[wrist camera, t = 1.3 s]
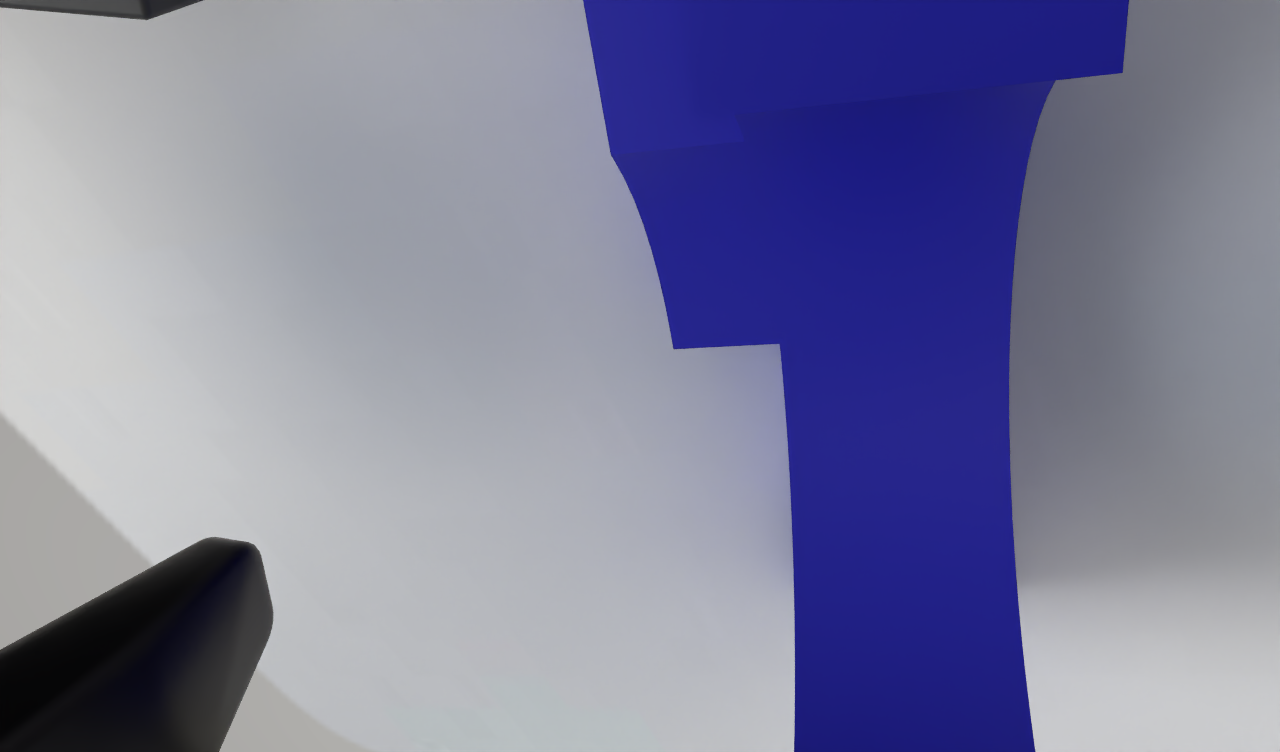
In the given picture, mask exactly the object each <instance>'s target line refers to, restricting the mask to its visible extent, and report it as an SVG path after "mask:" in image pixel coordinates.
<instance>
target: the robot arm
mask: <svg viewBox="0 0 1280 752" xmlns="http://www.w3.org/2000/svg"><path fill="white" fill-rule="evenodd" d="M272 624H273V607H272V602H271V598H270V593H269V589H268V584H267V580H266V575H265V571H264V566H263V562H262V558H261V554H260V551H259V550H258V549H257V548H256V546H255V545H254V544H251V543H249V542H244V541H238V540H231V539H225V538H219V537H209V538H206V539H203V540H201V541H199V542H197V543H195V544H193V545H191V546H189V547H188V548H186V549H184V550H182V551H180V552H178V553H177V554H175V555H173V556H171V557H169V558H167V559H166V560H164V561H162V562H160V563H158V564H156V565H155V566H153V567H151V568H149V569H147V570H145V571H144V572H142V573H140V574H138V575H136V576H134V577H133V578H131V579H129V580H127V581H125V582H123V583H122V584H120V585H118V586H116V587H114V588H112V589H111V590H109V591H107V592H105V593H103V594H101V595H100V596H98V597H96V598H94V599H92V600H91V601H89V602H87V603H85V604H83V605H81V606H80V607H78V608H76V609H74V610H72V611H71V612H69V613H67V614H65V615H63V616H61V617H60V618H58V619H56V620H54V621H52V622H50V623H48V624H47V625H45V626H43V627H41V628H39V629H37V630H36V631H34V632H32V633H30V634H28V635H26V636H25V637H23V638H21V639H19V640H17V641H16V642H14V643H12V644H10V645H8V646H6V647H5V648H3V649H1V650H0V752H219V751H220V748H221V746H222V744H223V741H224V739H225V737H226V734H227V732H228V730H229V728H230V726H231V723H232V721H233V719H234V716H235V714H236V712H237V709H238V707H239V705H240V703H241V701H242V698H243V696H244V694H245V691H246V689H247V687H248V684H249V682H250V680H251V678H252V675H253V673H254V671H255V669H256V666H257V664H258V662H259V660H260V657H261V655H262V653H263V650H264V648H265V646H266V644H267V641H268V639H269V636H270V633H271V629H272Z"/></svg>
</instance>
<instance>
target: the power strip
mask: <svg viewBox="0 0 1280 752" xmlns="http://www.w3.org/2000/svg"><path fill="white" fill-rule="evenodd" d="M200 1H203V0H0V7H2V8H14V9H26V10H37V11H49V12H61V13H72V14H84V15H96V16H107V17H119V18H130V19H142V20H148V19H151V18H154V17H157V16H160V15H163V14H165V13H168V12H171V11H174V10H177V9H180V8H183V7H185V6H188V5H191V4H194V3H197V2H200Z"/></svg>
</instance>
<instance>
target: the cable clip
mask: <svg viewBox="0 0 1280 752" xmlns="http://www.w3.org/2000/svg"><path fill="white" fill-rule="evenodd" d="M583 2H584V8H585V13H586V19H587V24H588V30H589V35H590V41H591V47H592V52H593V58H594V63H595V69H596V74H597V80H598V86H599V91H600V97H601V102H602V108H603V113H604V119H605V124H606V130H607V136H608V141H609V147H610V152H611V156H612V157H613V159H614V161H615V162H616V164H617V166H618V168H619V170H620V171H621V173H622V175H623V177H624V179H625V181H626V183H627V185H628V187H629V190H630V192H631V194H632V196H633V198H634V201H635V203H636V206H637V208H638V211H639V214H640V216H641V219H642V222H643V224H644V227H645V231H646V234H647V237H648V240H649V243H650V246H651V250H652V253H653V257H654V261H655V264H656V268H657V272H658V276H659V280H660V284H661V288H662V293H663V297H664V302H665V306H666V311H667V316H668V322H669V327H670V332H671V337H672V343H673V349H686V348H705V347H724V346H743V345H763V344H780V351H781V361H782V373H783V384H784V396H785V409H786V422H787V438H788V453H789V471H790V489H791V511H792V536H793V566H794V610H795V739H794V752H1035V746H1034V739H1033V731H1032V724H1031V716H1030V709H1029V701H1028V692H1027V683H1026V675H1025V666H1024V657H1023V647H1022V637H1021V627H1020V616H1019V605H1018V593H1017V580H1016V567H1015V553H1014V537H1013V520H1012V499H1011V475H1010V439H1009V354H1010V322H1011V302H1012V284H1013V271H1014V258H1015V247H1016V238H1017V228H1018V220H1019V212H1020V205H1021V198H1022V191H1023V185H1024V180H1025V174H1026V168H1027V163H1028V159H1029V155H1030V150H1031V146H1032V141H1033V138H1034V134H1035V131H1036V127H1037V124H1038V120H1039V117H1040V114H1041V112H1042V109H1043V106H1044V104H1045V101H1046V98H1047V96H1048V94H1049V92H1050V90H1051V88H1052V86H1053V84H1054V82H1055V80H1062V79H1071V78H1081V77H1090V76H1099V75H1108V74H1118V73H1123V62H1124V50H1125V39H1126V27H1127V16H1128V4H1129V0H583Z"/></svg>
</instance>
